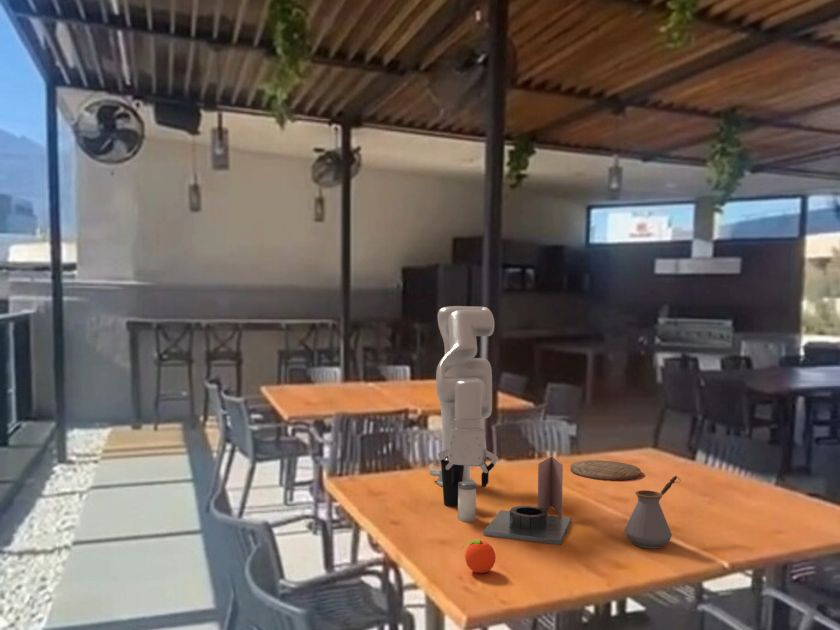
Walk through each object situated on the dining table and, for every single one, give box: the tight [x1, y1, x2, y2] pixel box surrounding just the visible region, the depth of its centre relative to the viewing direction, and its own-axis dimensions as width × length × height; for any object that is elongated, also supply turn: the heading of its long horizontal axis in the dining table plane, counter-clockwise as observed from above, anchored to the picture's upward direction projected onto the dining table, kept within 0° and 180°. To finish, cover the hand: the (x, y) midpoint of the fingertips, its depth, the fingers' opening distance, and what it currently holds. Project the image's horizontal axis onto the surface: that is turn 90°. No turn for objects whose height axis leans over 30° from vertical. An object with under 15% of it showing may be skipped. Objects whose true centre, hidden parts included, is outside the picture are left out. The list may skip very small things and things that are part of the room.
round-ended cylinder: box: [457, 481, 477, 523], centre depth 198 cm, size 5×5×10 cm
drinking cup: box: [439, 456, 464, 508], centre depth 212 cm, size 8×8×20 cm
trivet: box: [570, 459, 642, 482], centre depth 256 cm, size 25×25×2 cm
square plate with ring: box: [483, 505, 572, 546], centre depth 190 cm, size 20×20×5 cm
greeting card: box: [537, 456, 564, 517], centre depth 206 cm, size 11×7×15 cm, turn 150°
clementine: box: [461, 540, 497, 574], centre depth 159 cm, size 8×7×7 cm
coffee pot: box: [624, 475, 682, 549], centre depth 183 cm, size 21×12×15 cm, turn 134°
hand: (467, 484), depth 197 cm, fingers open, 9 cm apart
